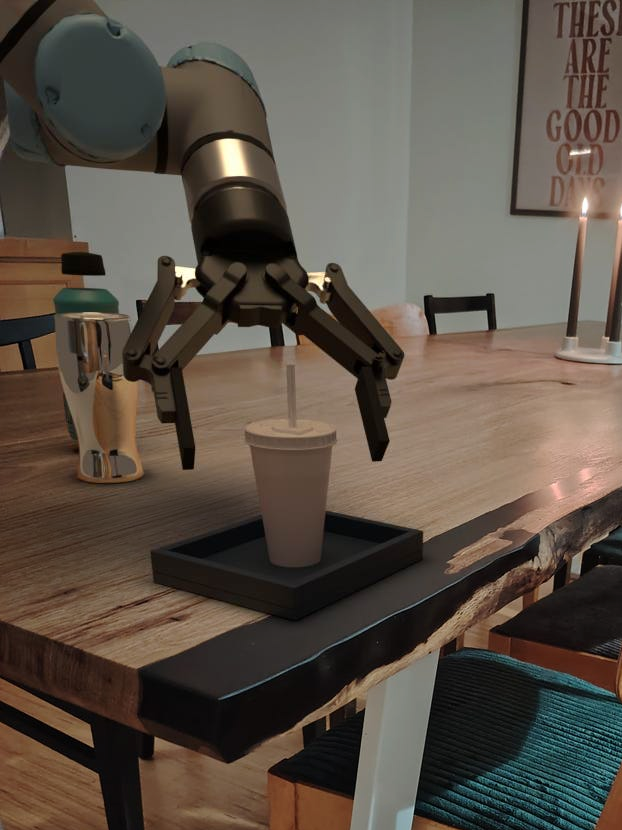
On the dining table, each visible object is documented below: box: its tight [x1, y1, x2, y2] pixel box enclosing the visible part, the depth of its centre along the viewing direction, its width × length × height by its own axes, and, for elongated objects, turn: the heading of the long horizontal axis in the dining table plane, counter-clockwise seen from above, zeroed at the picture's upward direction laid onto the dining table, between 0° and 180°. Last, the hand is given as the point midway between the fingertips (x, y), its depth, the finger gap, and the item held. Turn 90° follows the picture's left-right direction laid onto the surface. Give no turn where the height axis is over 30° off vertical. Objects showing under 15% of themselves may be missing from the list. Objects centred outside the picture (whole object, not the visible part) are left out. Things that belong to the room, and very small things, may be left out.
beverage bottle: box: [52, 251, 120, 441], centre depth 97 cm, size 6×7×20 cm
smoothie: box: [243, 363, 338, 567], centre depth 65 cm, size 6×6×14 cm
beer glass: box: [53, 312, 145, 484], centre depth 88 cm, size 7×7×15 cm
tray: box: [150, 510, 424, 622], centre depth 68 cm, size 16×13×2 cm
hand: (288, 455), depth 65 cm, fingers open, 13 cm apart
